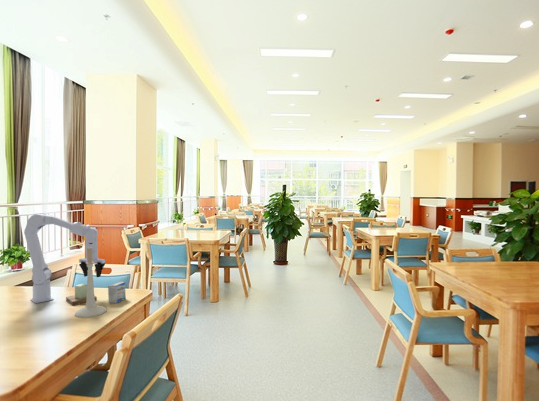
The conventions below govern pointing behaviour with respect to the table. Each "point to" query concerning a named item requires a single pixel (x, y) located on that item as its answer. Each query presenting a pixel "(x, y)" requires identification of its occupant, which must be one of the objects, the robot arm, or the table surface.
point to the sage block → (80, 291)
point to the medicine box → (116, 292)
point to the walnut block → (77, 300)
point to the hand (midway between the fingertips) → (92, 276)
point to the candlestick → (90, 293)
